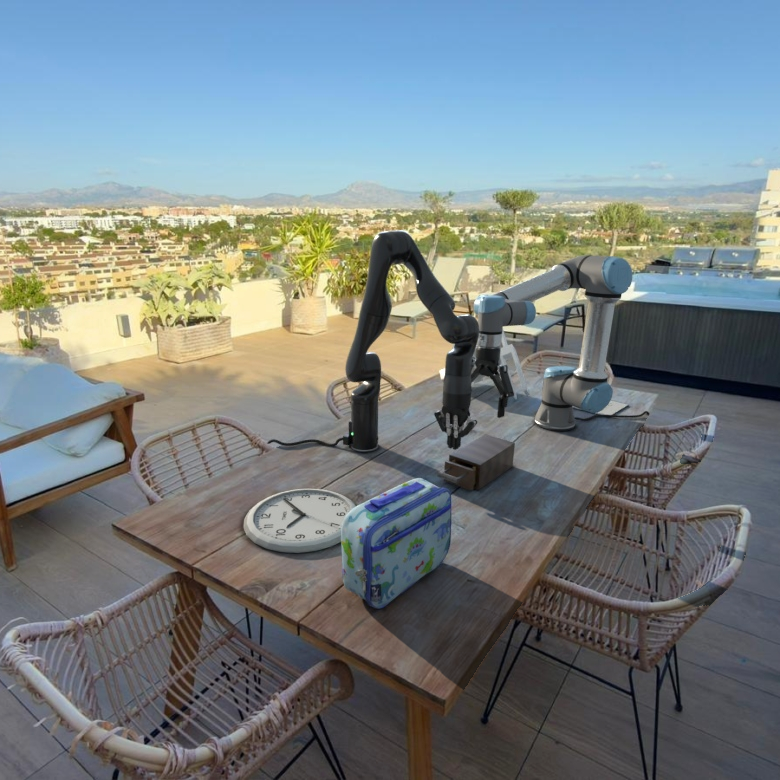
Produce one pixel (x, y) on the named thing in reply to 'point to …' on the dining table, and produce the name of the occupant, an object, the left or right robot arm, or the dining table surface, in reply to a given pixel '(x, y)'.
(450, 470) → the drawer
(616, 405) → the invitation card
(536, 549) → the dining table surface
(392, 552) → the lunch box
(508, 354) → the white plastic object
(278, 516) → the wall clock
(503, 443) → the cabinet
